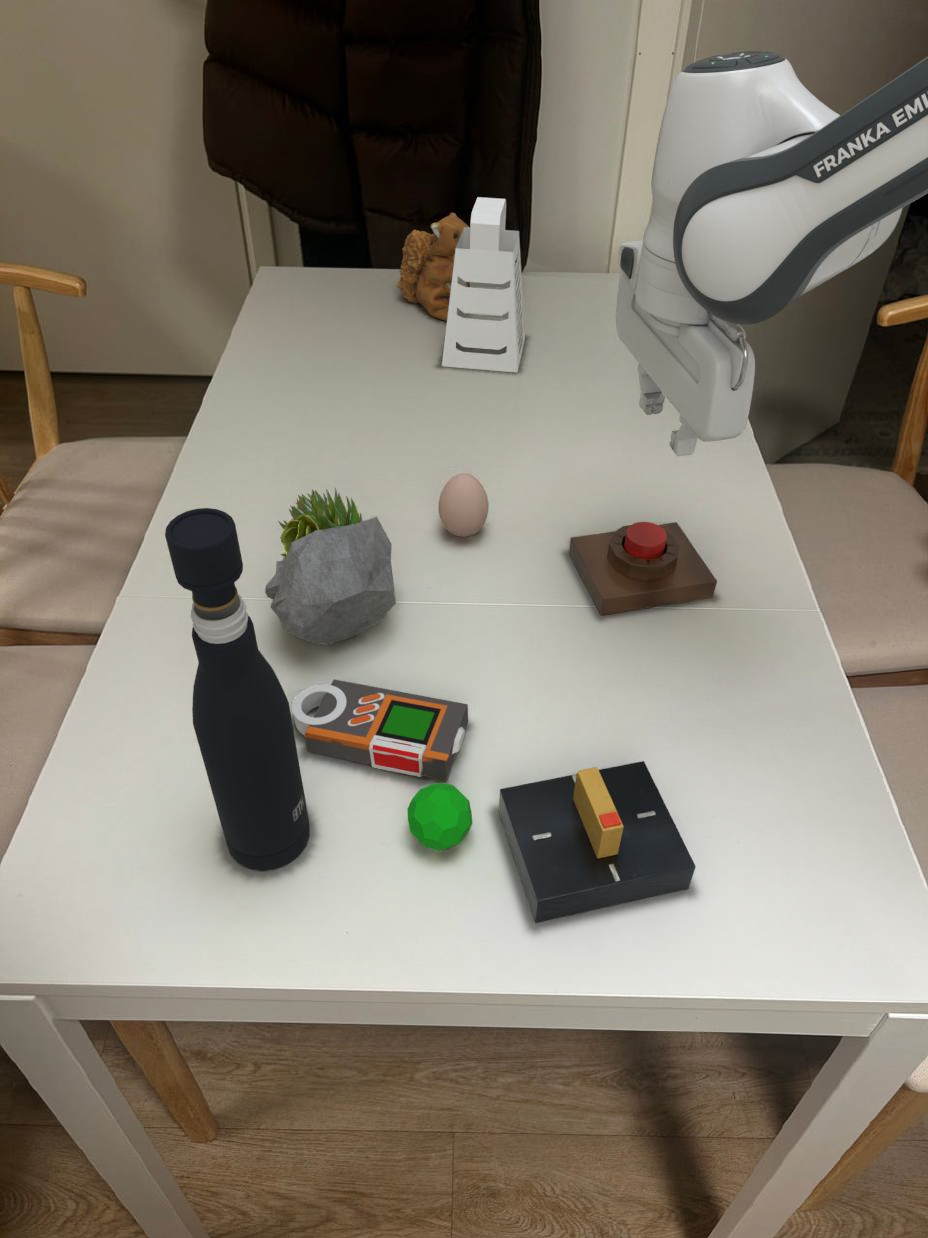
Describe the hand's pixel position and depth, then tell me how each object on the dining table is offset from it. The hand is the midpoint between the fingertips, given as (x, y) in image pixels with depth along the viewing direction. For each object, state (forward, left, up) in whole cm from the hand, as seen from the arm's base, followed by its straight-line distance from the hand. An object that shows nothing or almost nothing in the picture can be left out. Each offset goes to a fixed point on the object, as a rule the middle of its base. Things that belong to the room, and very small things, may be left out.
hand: (665, 430), depth 85 cm
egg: (+16, -11, -17) cm, 26 cm away
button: (0, 0, -14) cm, 14 cm away
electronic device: (+30, +15, -17) cm, 38 cm away
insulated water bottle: (+40, +23, -17) cm, 49 cm away
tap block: (+16, +30, -17) cm, 38 cm away
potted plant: (+32, -2, -17) cm, 36 cm away
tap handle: (+16, +30, -14) cm, 37 cm away
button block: (0, 0, -17) cm, 17 cm away
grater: (+3, -51, -17) cm, 54 cm away
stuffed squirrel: (+6, -68, -17) cm, 70 cm away
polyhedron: (+27, +26, -17) cm, 41 cm away
